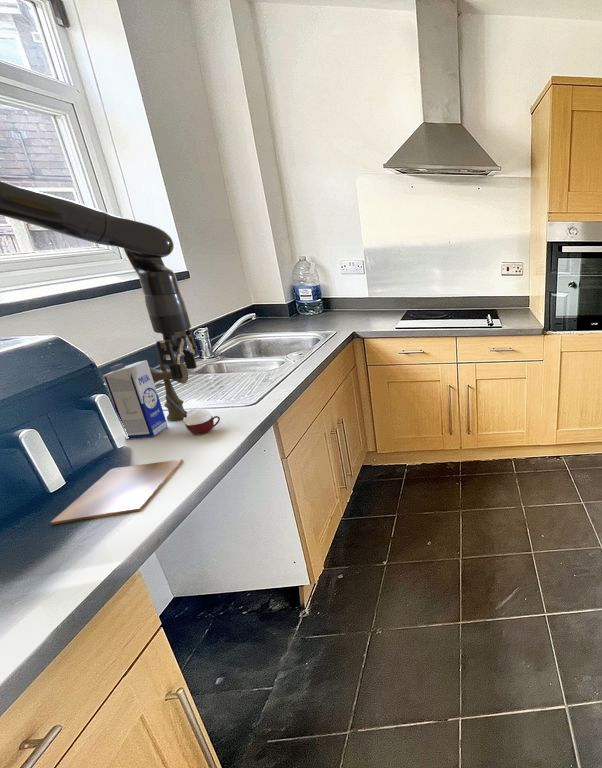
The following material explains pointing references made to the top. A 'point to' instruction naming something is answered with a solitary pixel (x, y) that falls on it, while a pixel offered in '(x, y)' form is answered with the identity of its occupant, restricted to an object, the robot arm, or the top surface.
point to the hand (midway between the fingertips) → (185, 373)
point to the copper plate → (119, 491)
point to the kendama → (170, 388)
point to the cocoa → (196, 419)
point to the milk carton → (136, 399)
